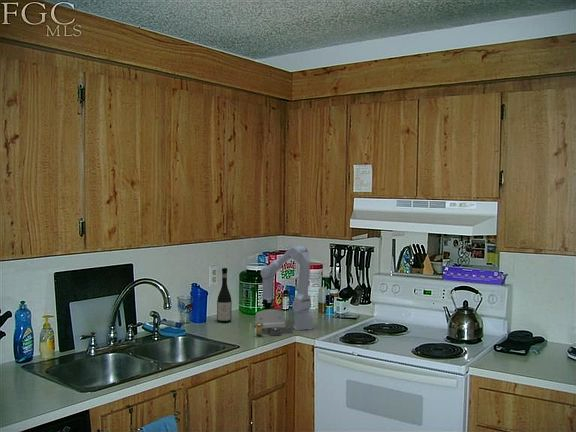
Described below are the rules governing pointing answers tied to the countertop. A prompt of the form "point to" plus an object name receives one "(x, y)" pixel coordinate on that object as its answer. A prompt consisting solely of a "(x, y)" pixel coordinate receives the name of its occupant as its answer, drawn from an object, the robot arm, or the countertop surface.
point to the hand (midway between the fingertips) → (267, 312)
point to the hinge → (270, 318)
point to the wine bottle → (224, 301)
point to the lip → (277, 330)
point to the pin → (259, 329)
